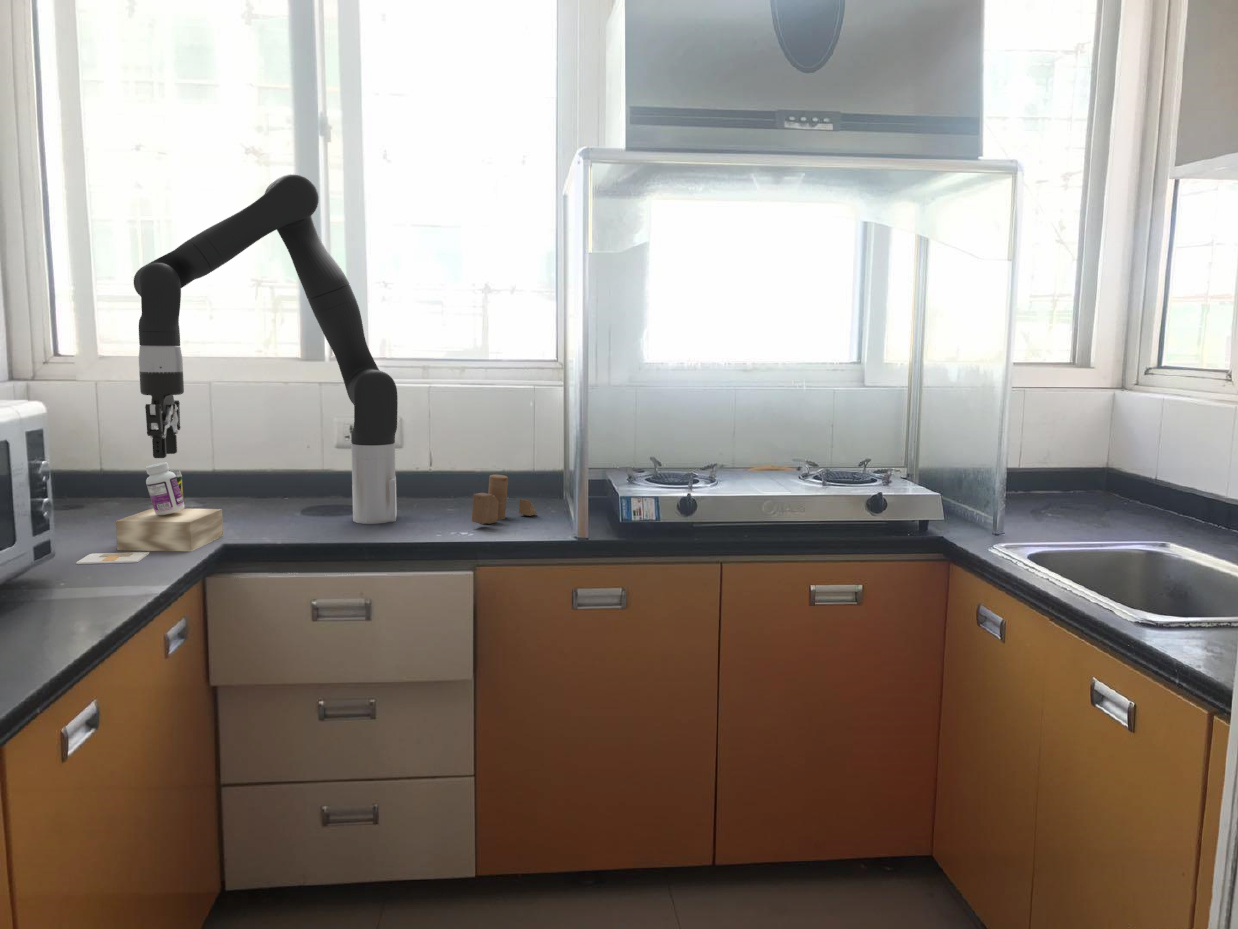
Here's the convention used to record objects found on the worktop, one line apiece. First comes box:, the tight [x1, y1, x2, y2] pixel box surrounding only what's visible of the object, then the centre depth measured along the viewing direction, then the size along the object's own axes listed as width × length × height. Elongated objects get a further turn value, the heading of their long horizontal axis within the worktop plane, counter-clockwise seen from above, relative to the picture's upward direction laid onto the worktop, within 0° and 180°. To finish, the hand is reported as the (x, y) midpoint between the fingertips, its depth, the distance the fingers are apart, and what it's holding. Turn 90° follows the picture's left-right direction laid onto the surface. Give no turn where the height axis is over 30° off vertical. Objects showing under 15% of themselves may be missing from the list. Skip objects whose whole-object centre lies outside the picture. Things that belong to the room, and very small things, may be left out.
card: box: [75, 551, 150, 565], centre depth 166 cm, size 10×7×1 cm
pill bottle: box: [145, 461, 185, 515], centre depth 179 cm, size 5×5×10 cm
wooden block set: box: [471, 474, 538, 525], centre depth 204 cm, size 18×9×10 cm, turn 151°
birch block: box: [115, 507, 224, 552], centre depth 180 cm, size 14×14×6 cm
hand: (165, 455), depth 178 cm, fingers open, 7 cm apart
